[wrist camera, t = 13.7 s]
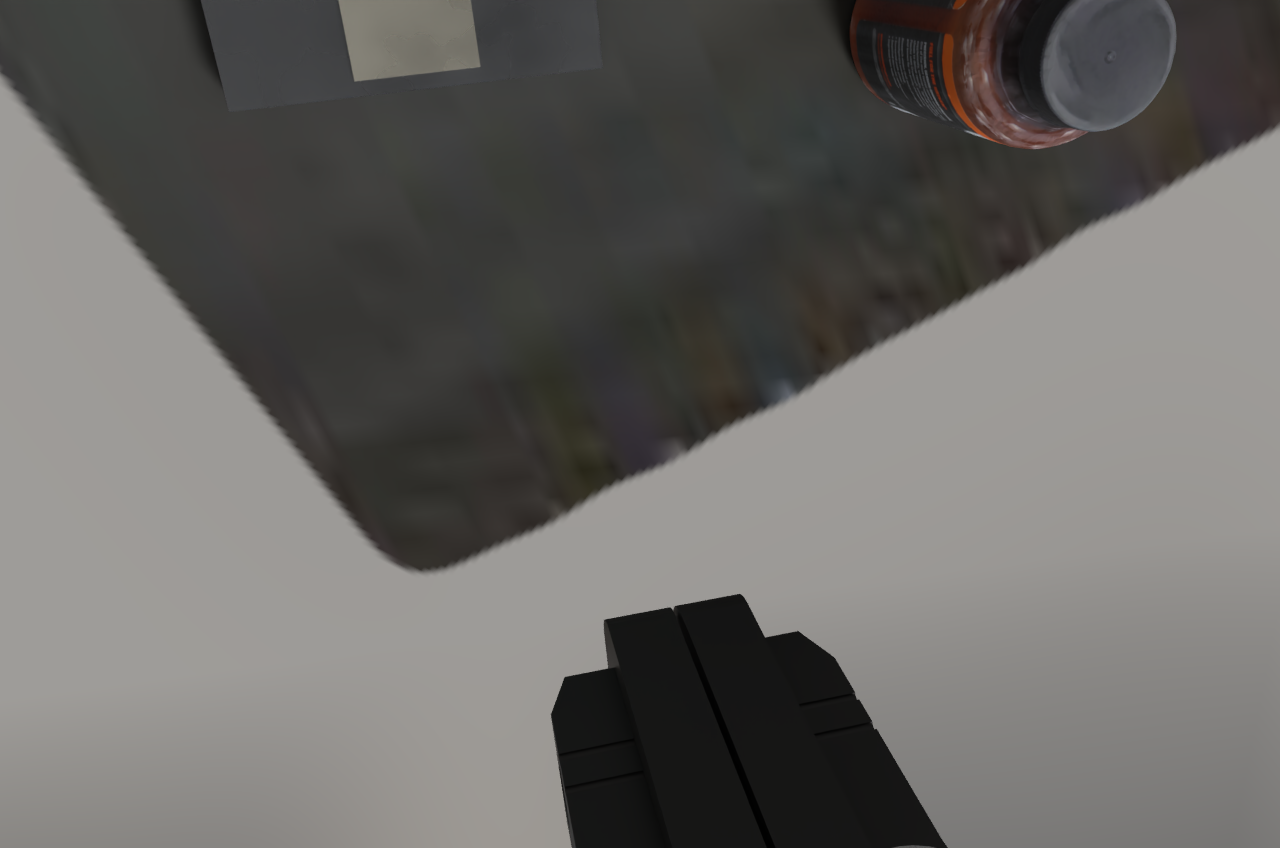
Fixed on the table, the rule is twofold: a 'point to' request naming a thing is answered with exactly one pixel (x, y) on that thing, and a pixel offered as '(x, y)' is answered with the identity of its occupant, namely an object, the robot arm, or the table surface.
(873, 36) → the supplement bottle
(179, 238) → the table surface
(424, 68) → the plate
